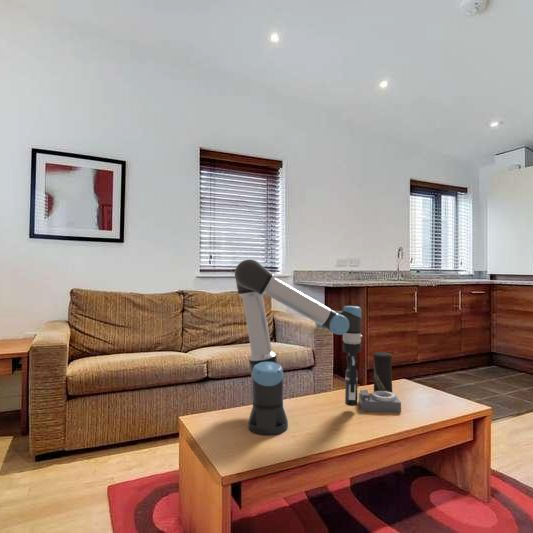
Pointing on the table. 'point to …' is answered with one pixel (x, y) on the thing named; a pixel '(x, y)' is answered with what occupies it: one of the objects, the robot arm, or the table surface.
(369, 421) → the table surface
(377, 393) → the camera body
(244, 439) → the table surface
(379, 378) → the container
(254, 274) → the robot arm
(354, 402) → the lens
